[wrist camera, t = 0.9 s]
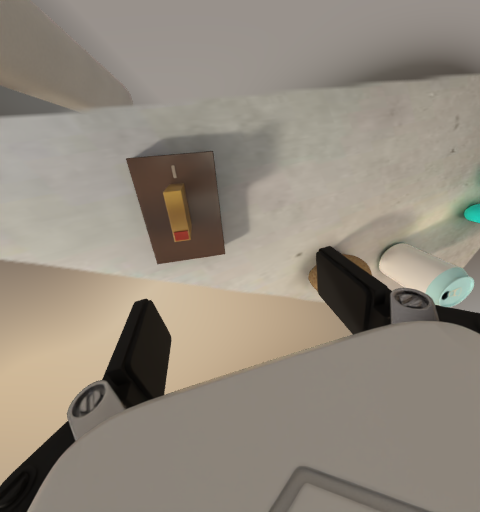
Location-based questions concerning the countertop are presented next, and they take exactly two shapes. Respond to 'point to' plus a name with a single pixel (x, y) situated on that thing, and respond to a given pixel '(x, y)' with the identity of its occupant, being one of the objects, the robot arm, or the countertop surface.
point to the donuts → (473, 213)
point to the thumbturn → (178, 211)
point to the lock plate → (198, 198)
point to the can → (426, 274)
